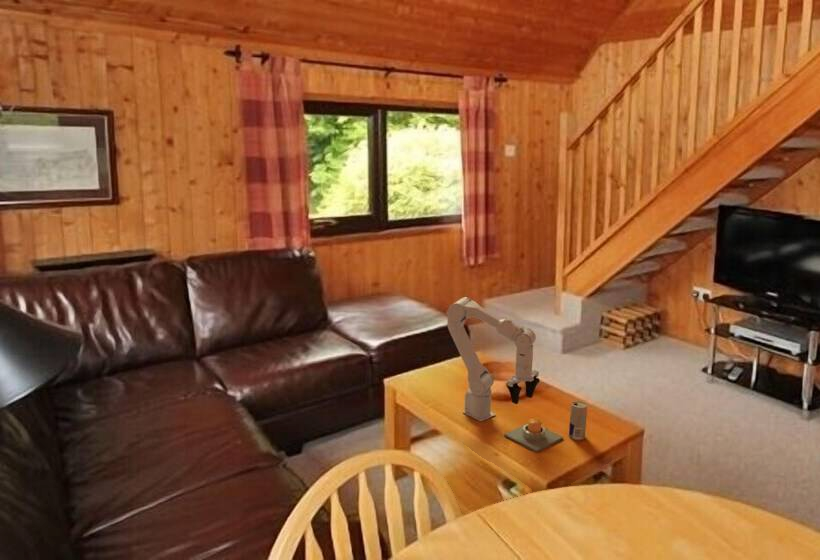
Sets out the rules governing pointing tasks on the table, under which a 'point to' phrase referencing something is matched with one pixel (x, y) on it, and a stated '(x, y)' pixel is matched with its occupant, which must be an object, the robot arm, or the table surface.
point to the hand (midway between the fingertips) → (522, 399)
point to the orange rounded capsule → (534, 426)
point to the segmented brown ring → (533, 434)
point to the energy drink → (578, 420)
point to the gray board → (533, 445)
